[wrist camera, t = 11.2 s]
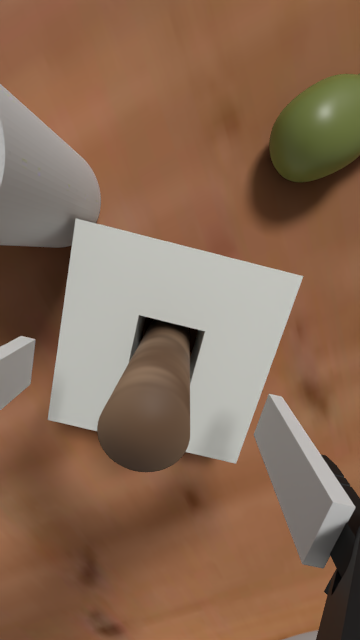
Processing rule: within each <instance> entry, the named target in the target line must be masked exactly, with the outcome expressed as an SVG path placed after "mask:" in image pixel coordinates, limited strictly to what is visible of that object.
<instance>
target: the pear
mask: <svg viewBox="0 0 360 640" xmlns="http://www.w3.org/2000/svg"><path fill="white" fill-rule="evenodd" d="M269 149H270V156H271V160H272V163H273V165H274V167H275V169H276V170H277V171H278V173H279V174H280V175H281V176H283V177H284V178H285V179H287V180H289V181H293V182H309V181H313V180H317V179H320V178H323V177H325V176H328V175H330V174H332V173H334V172H336V171H338V170H340V169H342V168H344V167H345V166H347V165H348V164H350V163H351V162H353V161H354V160H355V159H356V158H358V157H359V156H360V74H358V75H355V74H340V75H335V76H331V77H328V78H326V79H324V80H321V81H319V82H317V83H316V84H314V85H312V86H311V87H309V88H308V89H306V90H305V91H303V92H302V93H301V94H299V95H298V96H297V97H296V98H294V99H293V100H292V101H291V102H290V103H289V104H288V105H287V106H286V107H285V108H284V109H283V111H282V112H281V113H280V115H279V116H278V118H277V120H276V121H275V123H274V126H273V128H272V131H271V135H270V143H269Z"/></svg>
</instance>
